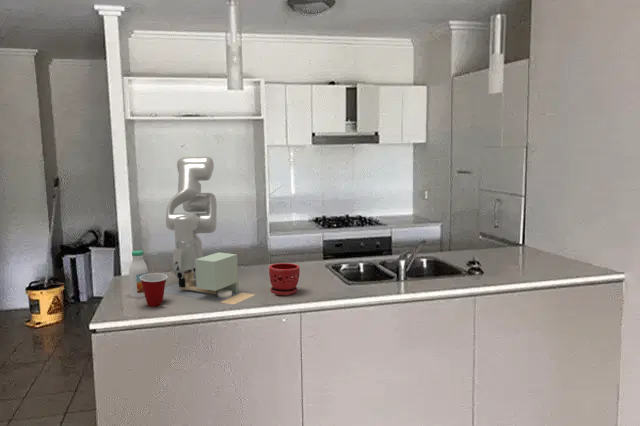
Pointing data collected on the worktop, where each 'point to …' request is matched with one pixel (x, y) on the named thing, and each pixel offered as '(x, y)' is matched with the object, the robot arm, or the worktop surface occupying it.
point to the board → (195, 293)
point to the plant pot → (284, 278)
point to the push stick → (190, 284)
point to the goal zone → (237, 298)
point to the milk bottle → (137, 274)
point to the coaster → (224, 293)
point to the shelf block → (217, 272)
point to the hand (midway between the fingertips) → (186, 285)
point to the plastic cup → (153, 288)
